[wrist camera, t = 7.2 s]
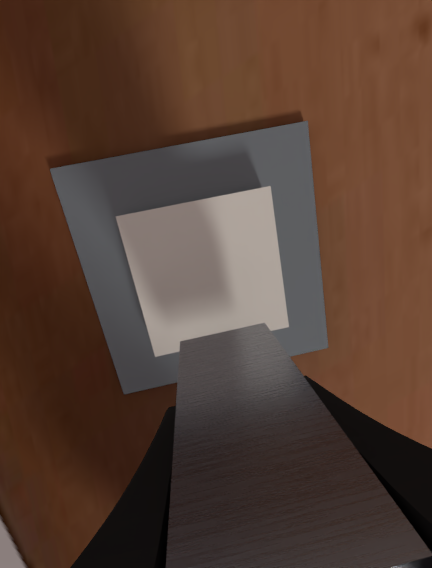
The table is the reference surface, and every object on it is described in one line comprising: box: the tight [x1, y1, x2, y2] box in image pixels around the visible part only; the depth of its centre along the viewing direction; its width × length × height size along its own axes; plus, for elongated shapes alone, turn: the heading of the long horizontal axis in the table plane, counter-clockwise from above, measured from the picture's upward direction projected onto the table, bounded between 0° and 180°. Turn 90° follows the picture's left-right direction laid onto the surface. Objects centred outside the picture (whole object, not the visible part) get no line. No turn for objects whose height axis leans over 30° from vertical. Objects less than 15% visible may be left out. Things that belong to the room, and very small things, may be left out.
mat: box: [50, 121, 328, 394], centre depth 17 cm, size 14×14×1 cm
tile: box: [116, 186, 289, 357], centre depth 16 cm, size 2×8×8 cm
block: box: [166, 323, 432, 568], centre depth 9 cm, size 4×4×9 cm
